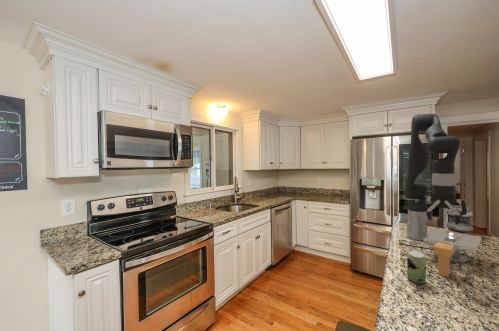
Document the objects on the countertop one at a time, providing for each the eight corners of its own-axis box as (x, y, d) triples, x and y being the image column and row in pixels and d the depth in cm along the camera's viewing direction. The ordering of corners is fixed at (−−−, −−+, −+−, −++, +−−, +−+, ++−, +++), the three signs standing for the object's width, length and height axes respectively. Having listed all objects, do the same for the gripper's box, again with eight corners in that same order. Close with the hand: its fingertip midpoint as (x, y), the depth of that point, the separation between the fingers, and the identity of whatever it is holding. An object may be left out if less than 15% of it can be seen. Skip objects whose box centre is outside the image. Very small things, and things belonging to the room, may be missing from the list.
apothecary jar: (450, 237, 135) (449, 208, 135) (444, 231, 146) (443, 204, 145) (477, 240, 130) (477, 209, 129) (468, 233, 140) (468, 205, 140)
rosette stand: (423, 260, 108) (422, 234, 108) (433, 248, 121) (433, 225, 120) (476, 274, 94) (476, 245, 94) (481, 259, 107) (481, 233, 106)
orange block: (433, 274, 96) (433, 246, 95) (437, 268, 100) (437, 242, 100) (451, 279, 92) (450, 250, 91) (454, 273, 96) (454, 245, 96)
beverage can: (422, 277, 93) (421, 249, 93) (429, 287, 87) (429, 256, 86) (404, 275, 96) (404, 247, 95) (410, 285, 89) (410, 255, 88)
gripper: (420, 183, 98) (420, 220, 98) (465, 186, 87) (465, 227, 87) (424, 182, 103) (425, 217, 103) (467, 184, 92) (468, 223, 92)
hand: (443, 222), depth 95 cm, fingers open, 8 cm apart
